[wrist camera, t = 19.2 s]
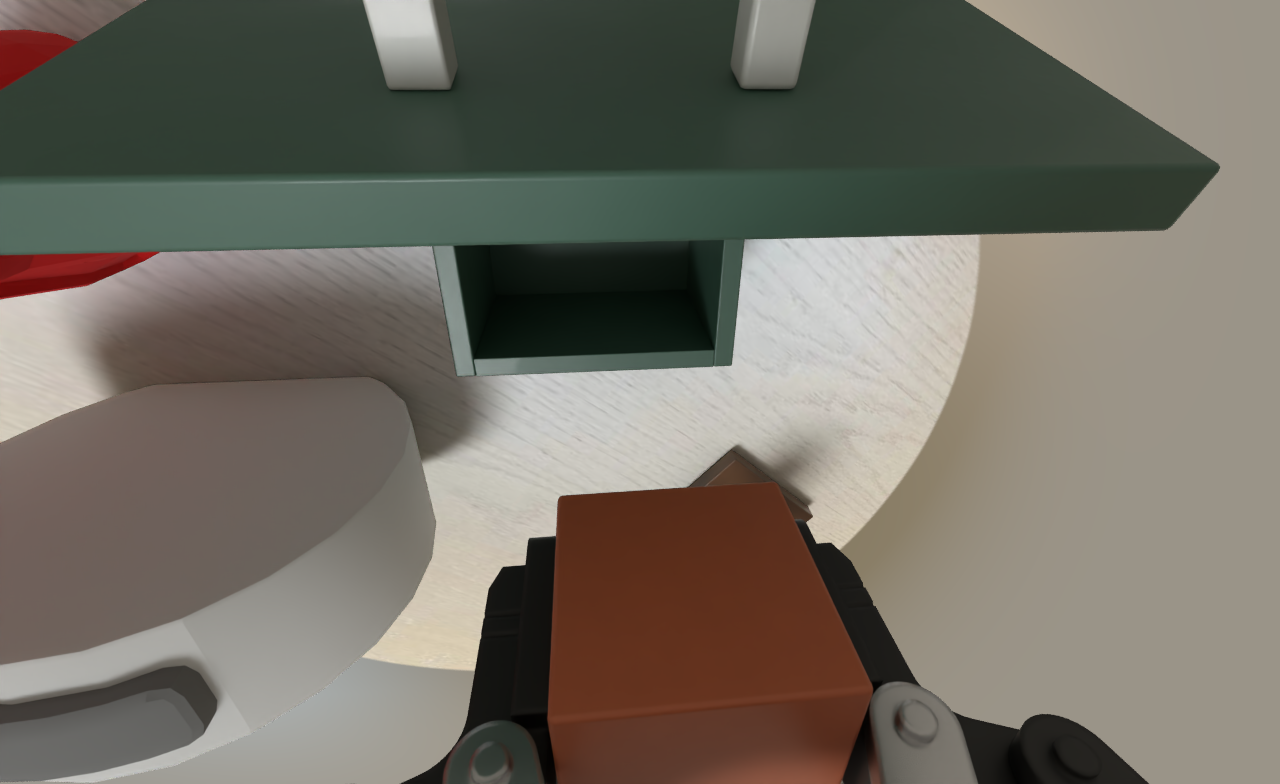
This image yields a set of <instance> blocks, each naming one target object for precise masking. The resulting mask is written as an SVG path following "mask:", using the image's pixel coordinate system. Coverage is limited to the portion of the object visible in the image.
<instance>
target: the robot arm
mask: <svg viewBox="0 0 1280 784" xmlns="http://www.w3.org/2000/svg"><path fill="white" fill-rule="evenodd" d="M795 522H796V524H797V526H798V528H799V531H800V533H801V535H802V537H803V539H804V541H805V543H806V545H807V548H808V550H809V552H810V554H811V556H812V558H813V560H814V563H815V565H816V567H817V569H818V571H819V573H820V575H821V577H822V580H823V582H824V584H825V586H826V588H827V590H828V592H829V595H830V597H831V599H832V601H833V603H834V605H835V607H836V609H837V612H838V614H839V616H840V618H841V620H842V622H843V624H844V627H845V629H846V631H847V633H848V635H849V637H850V639H851V641H852V644H853V646H854V648H855V650H856V652H857V654H858V656H859V659H860V661H861V663H862V665H863V667H864V669H865V671H866V674H867V676H868V678H869V680H870V682H871V684H872V687H873V694H872V697H871V700H870V703H869V706H868V708H867V711H866V714H865V717H864V720H863V722H862V725H861V728H860V731H859V734H858V736H857V739H856V742H855V745H854V748H853V751H852V753H851V756H850V759H849V762H848V765H847V767H846V770H845V773H844V776H843V779H842V782H841V784H1149V783H1148V782H1147V781H1145V780H1144V779H1143V778H1142V777H1141V776H1140V775H1139V774H1138V773H1137V772H1136V771H1134V769H1132V768H1131V767H1130V766H1129V765H1128V764H1127V763H1126V762H1125V761H1124V760H1123V759H1121V758H1120V757H1119V756H1118V755H1117V754H1116V753H1115V752H1114V751H1113V750H1112V749H1111V748H1110V747H1108V746H1107V745H1106V744H1105V743H1104V742H1103V741H1102V740H1101V739H1100V738H1098V737H1097V736H1096V735H1095V734H1093V733H1092V732H1090V731H1089V730H1088V729H1086V728H1085V727H1083V726H1081V725H1079V724H1078V723H1076V722H1073V721H1071V720H1069V719H1066V718H1063V717H1060V716H1056V715H1051V714H1040V715H1035V716H1033V717H1030V718H1029V719H1027V720H1026V721H1025V722H1024V724H1023V725H1022V727H1021V728H1020V730H1019V729H1014V728H1010V727H1005V726H1001V725H996V724H992V723H987V722H984V721H980V720H975V719H971V718H968V717H964V716H961V715H959V714H957V713H955V712H953V711H951V709H950V708H949V707H948V706H947V705H946V704H945V703H944V702H943V701H942V700H941V699H940V698H939V697H937V696H936V695H935V694H933V693H932V692H930V691H928V690H927V689H924V688H923V687H921V686H920V685H919V683H918V682H917V681H916V680H915V678H914V676H913V674H912V673H911V671H910V669H909V667H908V665H907V664H906V662H905V660H904V658H903V656H902V654H901V652H900V651H899V649H898V647H897V645H896V643H895V641H894V639H893V638H892V636H891V634H890V632H889V630H888V628H887V627H886V625H885V623H884V621H883V619H882V618H881V616H880V614H879V612H878V610H877V608H876V606H873V601H872V599H871V597H870V595H869V594H868V592H867V590H866V588H864V587H863V582H862V581H861V579H860V577H859V575H858V573H857V571H856V570H855V568H854V566H853V564H852V562H851V561H850V560H849V559H848V558H847V557H846V556H845V555H844V554H843V553H842V552H840V551H839V550H838V549H837V548H836V547H835V546H834V545H833V544H832V543H819V544H816V542H815V540H814V538H813V536H812V534H811V531H810V529H809V527H808V525H807V524H806V522H805V521H804V520H802V519H796V520H795ZM555 549H556V536H552V537H539V538H529V540H528V546H527V556H526V565H522V566H509V567H503V568H502V569H501V571H500V572H499V574H498V575H497V577H496V579H495V580H494V582H493V583H492V585H491V586H490V588H489V591H488V597H487V603H486V609H485V618H484V620H483V626H482V632H481V639H480V644H479V650H478V656H477V662H476V668H475V675H474V680H473V687H472V692H471V698H470V704H469V710H468V716H467V720H466V724H465V727H464V730H463V732H462V734H461V736H460V738H459V739H458V741H457V743H456V744H455V746H454V747H453V748H452V750H451V751H450V752H449V753H448V754H447V755H446V757H444V758H443V759H442V760H441V761H440V762H439V763H438V764H436V765H435V766H434V767H432V768H431V769H429V770H428V771H426V772H424V773H422V774H420V775H418V776H416V777H414V778H412V779H410V780H407V781H405V782H403V783H401V784H558V782H557V776H556V770H555V763H554V757H553V751H552V745H551V738H550V732H549V726H548V720H547V718H548V697H549V675H550V654H551V633H552V612H553V591H554V570H555Z"/></svg>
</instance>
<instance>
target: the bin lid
mask: <svg viewBox="0 0 1280 784" xmlns="http://www.w3.org/2000/svg"><path fill="white" fill-rule="evenodd" d="M1219 169H1220V166H1219V164H1218V163H1216V162H1215V161H1213V160H1211V159H1210V158H1208V157H1207V156H1205V155H1204V154H1202V153H1200V152H1199V151H1197V150H1196V149H1194V148H1193V147H1191V146H1190V145H1188V144H1187V143H1185V142H1184V141H1182V140H1180V139H1179V138H1177V137H1176V136H1174V135H1173V134H1171V133H1169V132H1168V131H1166V130H1165V129H1163V128H1162V127H1160V126H1159V125H1157V124H1155V123H1154V122H1153V121H1151V120H1149V119H1148V118H1146V117H1145V116H1143V115H1142V114H1140V113H1139V112H1137V111H1135V110H1134V109H1132V108H1131V107H1129V106H1128V105H1126V104H1125V103H1123V102H1122V101H1120V100H1118V99H1117V98H1115V97H1113V96H1112V95H1110V94H1109V93H1108V92H1106V91H1104V90H1103V89H1101V88H1100V87H1098V86H1097V85H1095V84H1094V83H1092V82H1091V81H1089V80H1087V79H1086V78H1084V77H1083V76H1081V75H1080V74H1078V73H1077V72H1075V71H1073V70H1072V69H1070V68H1069V67H1067V66H1066V65H1064V64H1062V63H1061V62H1060V61H1058V60H1056V59H1055V58H1053V57H1052V56H1050V55H1049V54H1047V53H1046V52H1044V51H1042V50H1041V49H1039V48H1038V47H1036V46H1035V45H1033V44H1032V43H1030V42H1028V41H1027V40H1025V39H1024V38H1022V37H1021V36H1019V35H1018V34H1016V33H1014V32H1013V31H1011V30H1010V29H1008V28H1007V27H1005V26H1004V25H1002V24H1001V23H999V22H998V21H996V20H994V19H993V18H991V17H990V16H988V15H987V14H985V13H984V12H982V11H980V10H979V9H977V8H976V7H974V6H973V5H971V4H970V3H968V2H966V1H965V0H146V1H144V2H143V3H141V4H140V5H138V6H136V7H135V8H133V9H131V10H130V11H128V12H127V13H125V14H123V15H122V16H120V17H118V18H117V19H115V20H114V21H112V22H110V23H109V24H107V25H106V26H104V27H102V28H101V29H99V30H97V31H96V32H94V33H93V34H91V35H89V36H88V37H86V38H84V39H83V40H81V41H80V42H78V43H76V44H75V45H73V46H71V47H70V48H68V49H67V50H65V51H63V52H62V53H60V54H58V55H57V56H55V57H54V58H52V59H50V60H49V61H47V62H46V63H44V64H42V65H41V66H39V67H37V68H36V69H34V70H33V71H31V72H29V73H28V74H26V75H24V76H23V77H21V78H20V79H18V80H16V81H15V82H13V83H11V84H10V85H8V86H7V87H5V88H3V89H2V90H0V255H36V254H83V253H130V252H177V251H224V250H271V249H318V248H364V247H411V246H458V245H505V244H552V243H599V242H646V241H693V240H740V239H786V238H833V237H880V236H927V235H974V234H1020V233H1063V232H1064V233H1068V232H1112V231H1160V230H1166V229H1168V228H1170V227H1171V226H1172V225H1173V224H1174V223H1175V222H1176V221H1177V219H1178V218H1179V217H1180V216H1181V215H1182V213H1183V212H1184V211H1185V210H1186V209H1187V208H1188V206H1189V205H1190V204H1191V203H1192V202H1193V201H1194V199H1195V198H1196V197H1197V196H1198V195H1199V194H1200V192H1201V191H1202V190H1203V189H1204V188H1205V187H1206V185H1207V184H1208V183H1209V182H1210V181H1211V179H1212V178H1213V177H1214V176H1215V175H1216V173H1218V171H1219Z"/></svg>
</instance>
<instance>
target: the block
mask: <svg viewBox="0 0 1280 784" xmlns="http://www.w3.org/2000/svg"><path fill="white" fill-rule="evenodd" d="M872 694H873V687H872V684H871V682H870V680H869V678H868V676H867V674H866V671H865V669H864V667H863V665H862V663H861V661H860V659H859V656H858V654H857V652H856V650H855V648H854V646H853V644H852V641H851V639H850V637H849V635H848V633H847V631H846V629H845V627H844V624H843V622H842V620H841V618H840V616H839V614H838V612H837V609H836V607H835V605H834V603H833V601H832V599H831V597H830V595H829V592H828V590H827V588H826V586H825V584H824V582H823V580H822V577H821V575H820V573H819V571H818V569H817V567H816V565H815V563H814V560H813V558H812V556H811V554H810V552H809V550H808V548H807V545H806V543H805V541H804V539H803V537H802V535H801V533H800V531H799V528H798V526H797V524H796V522H795V520H794V518H793V516H792V513H791V511H790V509H789V507H788V505H787V503H786V501H785V499H784V496H783V494H782V492H781V490H780V488H779V486H778V484H777V483H776V482H761V483H746V484H731V485H716V486H701V487H686V488H671V489H656V490H641V491H626V492H611V493H596V494H581V495H566V496H561V497H559V499H558V506H557V528H556V549H555V570H554V591H553V612H552V633H551V654H550V675H549V697H548V718H547V720H548V726H549V732H550V738H551V745H552V751H553V757H554V763H555V770H556V776H557V782H558V784H841V781H842V779H843V776H844V773H845V770H846V767H847V765H848V762H849V759H850V756H851V753H852V751H853V748H854V745H855V742H856V739H857V736H858V734H859V731H860V728H861V725H862V722H863V720H864V717H865V714H866V711H867V708H868V706H869V703H870V700H871V697H872Z"/></svg>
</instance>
